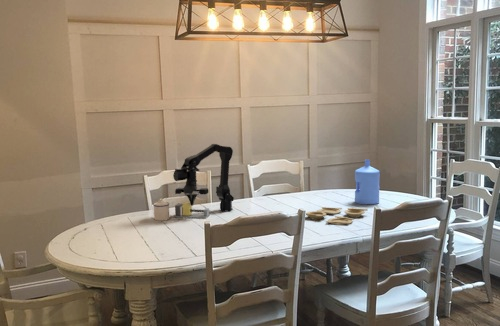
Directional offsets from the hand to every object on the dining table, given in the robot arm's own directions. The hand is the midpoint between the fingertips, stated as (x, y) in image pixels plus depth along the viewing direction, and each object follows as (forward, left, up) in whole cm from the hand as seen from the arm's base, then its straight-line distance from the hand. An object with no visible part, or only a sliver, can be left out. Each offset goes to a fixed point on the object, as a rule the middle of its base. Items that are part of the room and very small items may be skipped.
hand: (192, 205), depth 273 cm
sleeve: (+3, 0, -5) cm, 6 cm away
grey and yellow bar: (0, 0, -7) cm, 7 cm away
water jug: (-102, -52, -7) cm, 115 cm away
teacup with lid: (+17, +7, -7) cm, 20 cm away
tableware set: (-82, -9, -7) cm, 83 cm away
